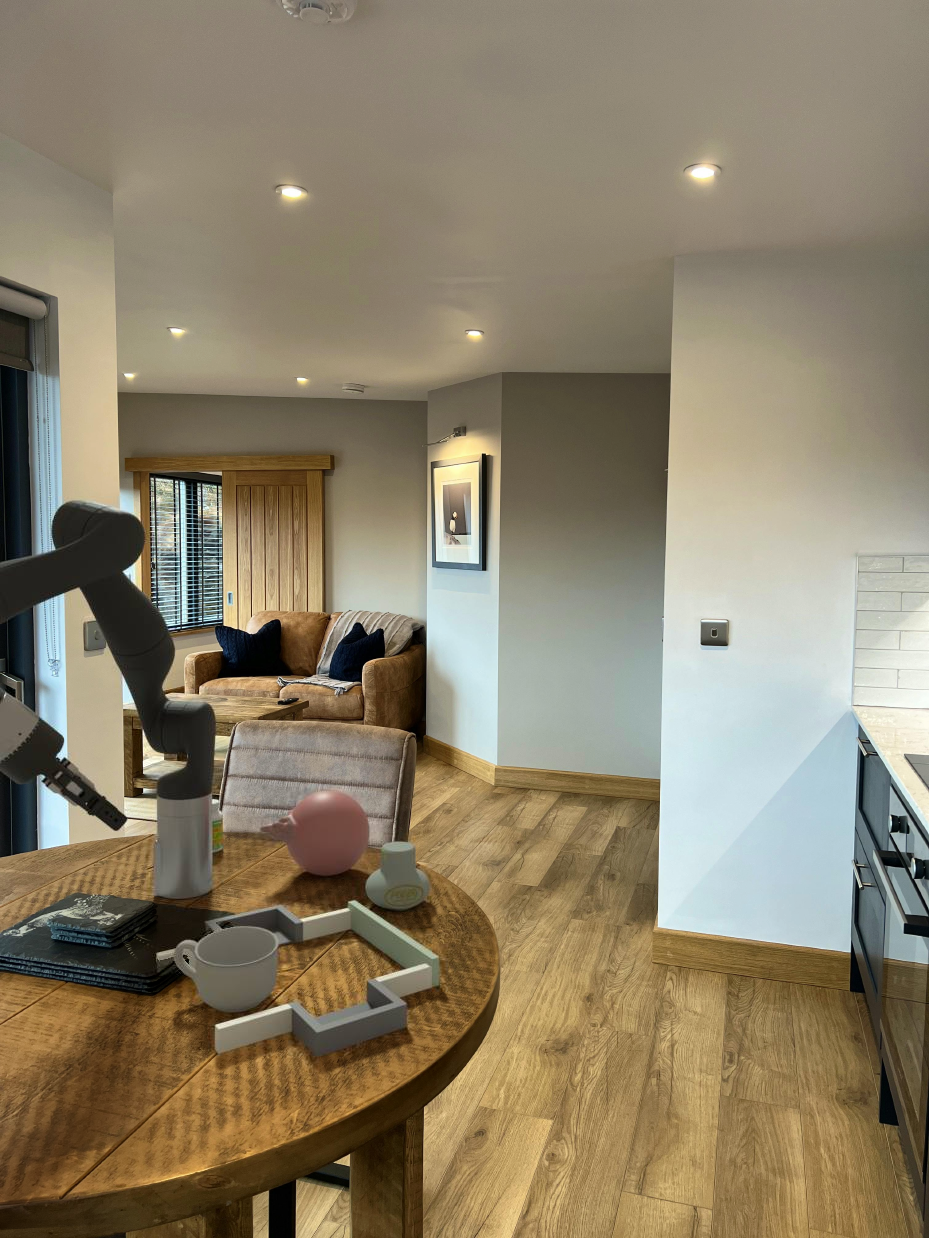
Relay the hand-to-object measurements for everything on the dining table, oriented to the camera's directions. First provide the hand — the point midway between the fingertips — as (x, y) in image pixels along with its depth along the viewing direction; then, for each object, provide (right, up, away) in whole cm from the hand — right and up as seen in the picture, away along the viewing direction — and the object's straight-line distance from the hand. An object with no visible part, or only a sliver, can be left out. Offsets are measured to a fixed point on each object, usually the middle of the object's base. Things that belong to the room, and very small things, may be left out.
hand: (116, 819), depth 117 cm
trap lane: (+21, -24, +8) cm, 33 cm away
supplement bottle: (-6, -20, +62) cm, 66 cm away
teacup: (+14, -24, +2) cm, 28 cm away
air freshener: (+34, -23, +36) cm, 54 cm away
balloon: (+18, -21, +49) cm, 57 cm away
